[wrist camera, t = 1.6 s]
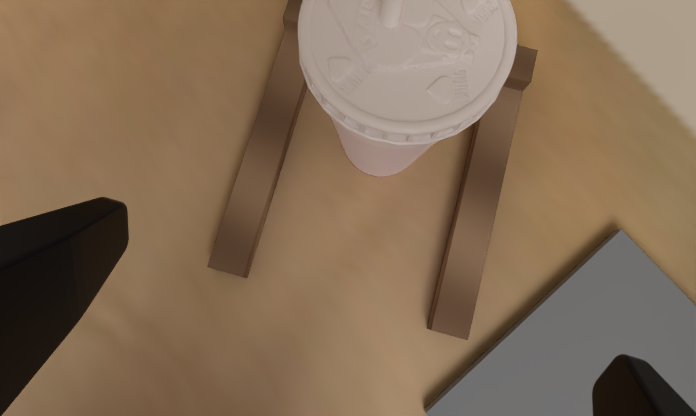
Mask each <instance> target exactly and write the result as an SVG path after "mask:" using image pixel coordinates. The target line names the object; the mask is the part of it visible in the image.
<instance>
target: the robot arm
mask: <svg viewBox="0 0 696 416" xmlns="http://www.w3.org/2000/svg"><path fill="white" fill-rule="evenodd" d="M128 240H129V234H128V212H127V207H126V205H125V204H124V203H122V202H120V201H116V200H113V199H110V198H106V197H100V198H96V199H92V200H89V201H85V202H82V203H78V204H75V205H72V206H68V207H65V208H61V209H58V210H54V211H51V212H47V213H44V214H40V215H37V216H33V217H30V218H26V219H23V220H19V221H16V222H12V223H9V224H5V225H2V226H0V416H2V414H3V413H4V412H5V411H6V409H7V408H8V407H9V406H10V405H11V403H12V402H13V401H14V400H15V398H16V397H17V396H18V395H19V394H20V392H21V391H22V390H23V389H24V387H25V386H26V385H27V384H28V383H29V381H30V380H31V379H32V378H33V376H34V375H35V374H36V373H37V372H38V370H39V369H40V368H41V367H42V365H43V364H44V363H45V362H46V361H47V359H48V358H49V357H50V356H51V354H52V353H53V352H54V351H55V350H56V348H57V347H58V346H59V345H60V344H61V342H62V341H63V340H64V339H65V337H66V336H67V335H68V334H69V333H70V331H71V330H72V329H73V328H74V326H75V325H76V324H77V322H78V321H79V320H80V319H81V317H82V316H83V314H84V313H85V311H86V310H87V308H88V307H89V305H90V304H91V302H92V301H93V299H94V298H95V296H96V295H97V293H98V292H99V290H100V289H101V287H102V286H103V284H104V282H105V281H106V279H107V278H108V276H109V275H110V273H111V272H112V270H113V269H114V267H115V266H116V264H117V262H118V261H119V259H120V258H121V256H122V255H123V253H124V252H125V250H126V248H127V245H128ZM592 407H593V416H696V412H695V411H694V410H693V409H692V408H691V407H690V406H689V405H688V404H687V403H686V402H685V401H684V399H683V398H682V397H681V396H680V395H679V394H678V393H677V392H676V391H675V390H674V389H673V388H672V387H671V386H670V385H669V384H668V383H667V382H666V381H665V380H664V379H663V378H662V377H661V376H660V374H659V373H658V372H657V371H656V370H655V369H654V368H653V367H652V366H651V365H650V364H649V363H648V362H646V361H645V360H642V359H639V358H636V357H633V356H629V355H626V354H620V355H618V356H616V357H615V358H614V359H613V360H612V362H611V363H610V364H609V365H608V367H607V368H606V369H605V370H604V372H603V373H602V374H601V375H600V376H599V378H598V379H597V380H596V382H595V384H594V386H593V390H592Z"/></svg>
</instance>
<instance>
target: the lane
mask: <svg viewBox="0 0 696 416" xmlns="http://www.w3.org/2000/svg"><path fill="white" fill-rule="evenodd" d="M302 1H303V0H289V1H288V4H287V7H286V10H285V13H284V16H283V21H284V26H285V33H284V36H283V39H282V42H281V45H280V48H279V51H278V54H277V57H276V60H275V63H274V66H273V69H272V72H271V75H270V78H269V81H268V84H267V87H266V90H265V93H264V97H263V100H262V103H261V106H260V109H259V112H258V115H257V118H256V121H255V124H254V127H253V130H252V133H251V136H250V139H249V142H248V145H247V148H246V151H245V154H244V157H243V160H242V163H241V166H240V169H239V173H238V176H237V179H236V182H235V185H234V188H233V191H232V194H231V197H230V200H229V203H228V206H227V209H226V212H225V215H224V218H223V221H222V224H221V227H220V230H219V233H218V236H217V239H216V242H215V245H214V249H213V252H212V255H211V258H210V261H209V264H208V267H209V268H213V269H216V270H220V271H223V272H227V273H230V274H234V275H237V276H241V277H245V278H247V277H248V274H249V270H250V267H251V264H252V261H253V258H254V254H255V251H256V248H257V245H258V242H259V238H260V235H261V232H262V229H263V226H264V222H265V219H266V216H267V213H268V209H269V206H270V203H271V200H272V197H273V193H274V190H275V187H276V184H277V181H278V177H279V174H280V171H281V168H282V165H283V161H284V158H285V155H286V152H287V149H288V145H289V142H290V139H291V136H292V133H293V129H294V126H295V123H296V120H297V117H298V113H299V110H300V107H301V104H302V101H303V97H304V94H305V91H306V88H307V83H306V80H305V77H304V74H303V71H302V68H301V65H300V61H299V43H298V19H299V13H300V8H301V4H302ZM537 51H538V50H534V49H530V48H526V47H523V46H519V45H517V47H516V54H515V58H514V62H513V65H512V68H511V71H510V73H509V75H508V77H507V79H506V81H505V83H504V84H503V86H502V88H501V90H500V92H499V94H498V96H497V98H496V100H495V102H494V103H493V104H492V105H491V106H490V107H489V108H488V110H487V111H486V112H485V113H484V114H483V115H482V116H481V118H480V119H479V120H478V121H476V124H475V129H474V133H473V137H472V141H471V145H470V150H469V154H468V158H467V162H466V167H465V171H464V175H463V179H462V183H461V188H460V192H459V196H458V200H457V205H456V209H455V213H454V217H453V221H452V226H451V230H450V234H449V238H448V242H447V247H446V251H445V255H444V259H443V264H442V268H441V272H440V276H439V280H438V285H437V289H436V293H435V297H434V302H433V306H432V310H431V314H430V318H429V323H428V327H427V329H430V330H433V331H437V332H441V333H444V334H448V335H451V336H455V337H458V338H462V339H466V340H468V337H469V332H470V328H471V323H472V319H473V314H474V310H475V305H476V301H477V296H478V291H479V287H480V282H481V278H482V273H483V269H484V264H485V260H486V255H487V251H488V246H489V242H490V237H491V232H492V228H493V223H494V219H495V214H496V210H497V205H498V201H499V196H500V192H501V187H502V183H503V178H504V173H505V169H506V164H507V160H508V155H509V151H510V146H511V142H512V137H513V133H514V128H515V124H516V119H517V114H518V110H519V105H520V101H521V96H522V92H523V90H524V89H525V88H526V87H527V86H528V85H529V83H530V82H531V78H532V74H533V69H534V65H535V60H536V56H537Z"/></svg>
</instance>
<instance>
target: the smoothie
mask: <svg viewBox="0 0 696 416" xmlns="http://www.w3.org/2000/svg"><path fill="white" fill-rule="evenodd" d="M298 43H299V61H300V65H301V68H302V71H303V74H304V77H305V80H306V83H307V86H308V88H309V90H310V91H311V92H312V94H313V95H314V97H315V98H316V100H317V101H318V103H319V104H320V105H321V107H322V108H323V110H324V111H325V112H327V113H328V114H329V115H330V116H331V119H332V121H333V123H334V126H335V128H336V131H337V133H338V136H339V138H340V141H341V143H342V145H343V148H344V150H345V153H346V155H347V157H348V158H349V160H350V161H351V163H352V164H353V165H354V166H355V167H357V168H358V169H359V170H361V171H362V172H364V173H367V174H369V175H373V176H390V175H394V174H397V173H399V172H401V171H403V170H404V169H405V168H407V167H408V166H409V165H410V164H411V163H413V162H414V161H415V160H416V159H417V158H418V157H419V156H421V155H422V154H423V153H424V152H425V151H426V150H428V149H429V148H430V147H431V146H432V145H433V144H435V143H436V142H437V141H439V140H442V139H446V138H449V137H452V136H455V135H456V134H458V133H459V132H461V131H462V130H464V129H466V128H467V127H469V126H470V125H472V124H473V123H475V122H476V121H478V120H479V119H480V118H481V116H482V115H483V114H484V113H485V112H486V111H487V110H488V108H489V107H490V106H491V105H492V104H493V103H494V102H495V100H496V98H497V96H498V94H499V92H500V90H501V88H502V86H503V84H504V83H505V81H506V79H507V77H508V75H509V73H510V71H511V68H512V65H513V62H514V58H515V54H516V47H517V26H516V20H515V15H514V11H513V8H512V5H511V2H510V0H303V1H302V4H301V8H300V13H299V19H298Z"/></svg>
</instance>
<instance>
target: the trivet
mask: <svg viewBox="0 0 696 416" xmlns="http://www.w3.org/2000/svg"><path fill="white" fill-rule="evenodd" d="M620 354H626V355H629V356H633V357H636V358H639V359H642V360H645V361H646V362H648V363H649V364H650V365H651V366H652V367H653V368H654V369H655V370H656V371H657V372H658V373H659V374H660V376H661V377H662V378H663V379H664V380H665V381H666V382H667V383H668V384H669V385H670V386H671V387H672V388H673V389H674V390H675V391H676V392H677V393H678V394H679V395H680V396H681V397H682V398H683V399H684V401H685V402H686V403H687V404H688V405H689V406H690V407H691V408H692V409H693V410H694V411H695V412H696V306H695V305H694V304H693V303H692V302H691V300H690V299H689V298H688V297H687V296H686V295H685V294H684V293H683V292H682V291H681V290H680V289H679V288H678V287H677V286H676V285H675V284H674V283H673V282H672V281H671V280H670V279H669V278H668V277H667V276H666V275H665V274H664V273H663V271H662V270H661V269H660V268H659V267H658V266H657V265H656V264H655V263H654V262H653V261H652V260H651V259H650V258H649V257H648V256H647V255H646V254H645V253H644V252H643V251H642V250H641V249H640V248H639V247H638V246H637V245H636V244H635V243H634V241H633V240H632V239H631V238H630V237H629V236H628V235H627V234H626V233H625V232H624V231H623V230H622V229H621V230H617V231H614V232H613V233H612V234H611V235H610V236H609V237H608V238H606V239H605V240H604V241H603V242H602V243H601V244H600V245H599V246H598V247H597V248H596V249H595V250H594V251H593V252H592V253H590V254H589V255H588V256H587V257H586V258H585V259H584V260H583V261H582V262H581V263H580V264H579V265H578V266H577V267H576V268H574V269H573V270H572V271H571V272H570V273H569V274H568V275H567V276H566V277H565V278H564V279H563V280H562V281H561V282H560V283H558V284H557V285H556V286H555V287H554V288H553V289H552V290H551V291H550V292H549V293H548V294H547V295H546V296H545V297H544V298H542V299H541V300H540V301H539V302H538V303H537V304H536V305H535V306H534V307H533V308H532V309H531V310H530V311H529V312H528V313H526V314H525V315H524V316H523V317H522V318H521V319H520V320H519V321H518V322H517V323H516V324H515V325H514V326H513V327H512V328H510V329H509V330H508V331H507V332H506V333H505V334H504V335H503V336H502V337H501V338H500V339H499V340H498V341H497V342H496V343H494V344H493V345H492V346H491V347H490V348H489V349H488V350H487V351H486V352H485V353H484V354H483V355H482V356H481V357H480V358H478V359H477V360H476V361H475V362H474V363H473V364H472V365H471V366H470V367H469V368H468V369H467V370H466V371H465V372H464V373H462V374H461V375H460V376H459V377H458V378H457V379H456V380H455V381H454V382H453V383H452V384H451V385H450V386H449V387H448V388H446V389H445V390H444V391H443V392H442V393H441V394H440V395H439V396H438V397H437V398H436V399H435V400H434V401H433V402H432V403H430V404H429V405H428V406H427V407H426V408H425V409H424V411H425V412H426V413H427V414H428V416H593V407H592V390H593V386H594V384H595V382H596V380H597V379H598V378H599V376H600V375H601V374H602V373H603V372H604V370H605V369H606V368H607V367H608V365H609V364H610V363H611V362H612V360H613V359H614V358H615V357H616V356H618V355H620Z"/></svg>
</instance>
